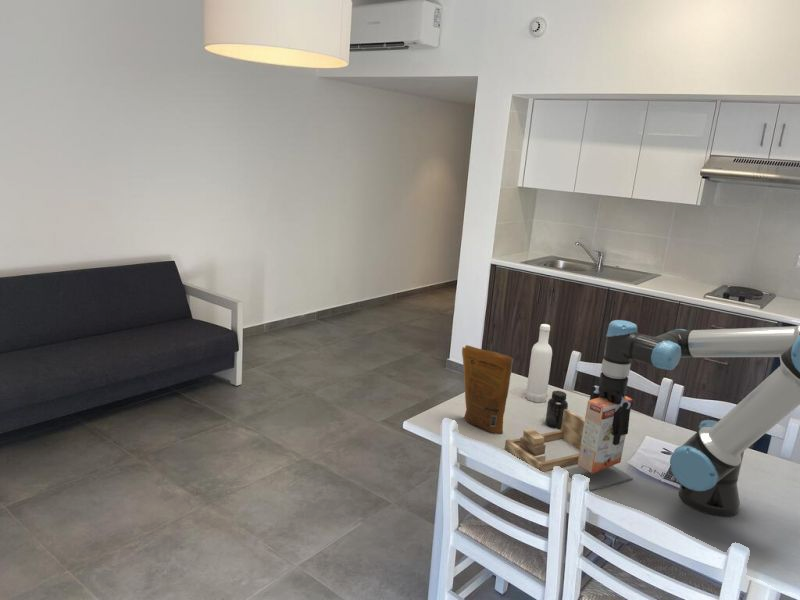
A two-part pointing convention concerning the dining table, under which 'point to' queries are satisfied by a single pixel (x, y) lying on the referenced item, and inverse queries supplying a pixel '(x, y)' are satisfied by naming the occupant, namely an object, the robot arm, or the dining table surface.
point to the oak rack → (568, 432)
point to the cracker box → (599, 436)
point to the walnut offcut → (532, 447)
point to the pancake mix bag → (486, 387)
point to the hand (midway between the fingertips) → (602, 447)
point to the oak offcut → (533, 437)
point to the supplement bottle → (556, 409)
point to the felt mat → (602, 477)
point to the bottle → (539, 367)
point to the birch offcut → (540, 457)
